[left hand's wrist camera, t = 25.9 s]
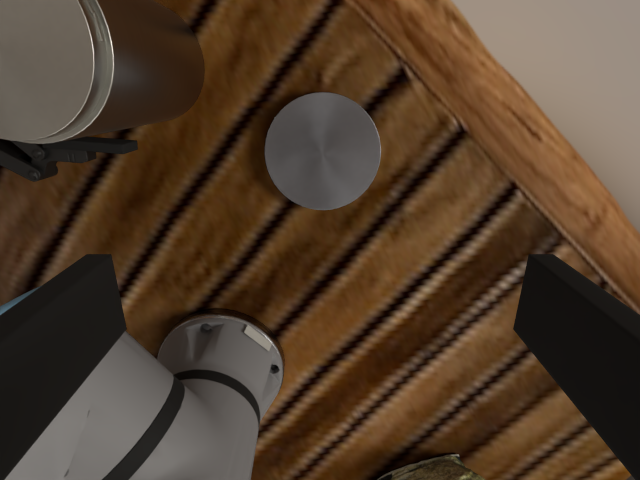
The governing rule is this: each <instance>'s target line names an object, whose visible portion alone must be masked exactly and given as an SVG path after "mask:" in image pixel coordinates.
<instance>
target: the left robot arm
mask: <svg viewBox="0 0 640 480" xmlns="http://www.w3.org/2000/svg"><path fill="white" fill-rule="evenodd" d="M126 329H127V328H126V323H125V319H124V314H123V309H122V304H121V299H120V295H119V290H118V285H117V280H116V275H115V271H114V266H113V261H112V256H111V254H87V255H85V256H84V257H82V258H81V259H79V260H78V261H77V262H75V263H74V264H72V265H71V266H69V267H68V268H67V269H65V270H64V271H62V272H61V273H60V274H58V275H57V276H55V277H54V278H52V279H51V280H50V281H48V282H47V283H45V284H44V285H42V286H40V287H38V288H35V289H33V290H31V291H29V292H27V293H25V294H23V295H21V296H19V297H17V298H15V299H13V300H11V301H10V302H8V303H6V304H4V305H2V306H0V480H250V479H251V473H252V466H253V460H254V454H255V448H256V442H257V436H258V429H259V424H260V421H261V419H262V418H263V416H264V414H265V413H266V411H267V410H268V408H269V407H270V405H271V403H272V402H273V400H274V399H275V397H276V395H277V394H278V392H279V390H280V388H281V385H282V381H283V375H284V366H285V361H284V354H283V351H282V348H281V345H280V343H279V342H278V340H277V338H276V337H275V335H274V334H273V333H272V332H271V331H270V330H269V329H268V328H267V327H266V326H265V325H264V324H262V323H261V322H259V321H258V320H256V319H254V318H253V317H251V316H248V315H246V314H243V313H240V312H237V311H232V310H225V309H211V310H204V311H200V312H197V313H194V314H191V315H189V316H187V317H185V318H184V319H182V320H181V321H180V322H178V323H177V324H176V325H175V326H174V327H173V328H172V329H171V331H170V332H169V334H168V335H167V337H166V339H165V340H164V342H163V343H162V345H161V347H160V350H159V353H158V358H157V359H156V358H155V357H154V356H152V355H151V354H150V353H149V352H148V351H147V350H146V349H145V348H144V347H143V346H142V345H141V344H139V343H138V342H137V341H136V340H135V339H134V338H133V337H132V336H131V335H130V334H129V333H127V332H126ZM513 329H514V331H515V332H516V333H517V334H518V336H519V337H520V338H521V339H522V340H523V342H524V343H525V344H526V345H527V347H528V348H529V349H530V350H531V352H532V353H533V354H534V355H535V357H536V358H537V359H538V360H539V361H540V363H541V364H542V365H543V366H544V368H545V369H546V370H547V371H548V373H549V374H550V375H551V376H552V377H553V379H554V380H555V381H556V382H557V384H558V385H559V386H560V387H561V389H562V390H563V391H564V392H565V394H566V395H567V396H568V397H569V398H570V400H571V401H572V402H573V403H574V405H575V406H576V407H577V408H578V410H579V411H580V412H581V413H582V414H583V416H584V417H585V418H586V419H587V421H588V422H589V423H590V424H591V426H592V427H593V428H594V429H595V431H596V432H597V433H598V434H599V435H600V437H601V438H602V439H603V440H604V442H605V443H606V444H607V445H608V447H609V448H610V449H611V450H612V451H613V453H614V454H615V455H616V456H617V458H618V459H619V460H620V461H621V463H622V464H623V465H624V466H625V467H626V469H627V470H628V471H629V472H630V474H631V475H632V476H633V477H634V479H635V480H640V315H639V314H638V313H636V312H635V311H633V310H632V309H630V308H629V307H628V306H626V305H625V304H623V303H622V302H620V301H619V300H618V299H616V298H615V297H613V296H612V295H610V294H609V293H608V292H606V291H605V290H603V289H602V288H600V287H599V286H598V285H596V284H595V283H593V282H592V281H590V280H589V279H588V278H586V277H585V276H583V275H582V274H580V273H579V272H578V271H576V270H575V269H573V268H572V267H571V266H569V265H568V264H566V263H565V262H563V261H562V260H561V259H559V258H558V257H556V256H555V255H553V254H529V256H528V261H527V266H526V271H525V275H524V280H523V285H522V290H521V295H520V299H519V304H518V309H517V314H516V319H515V323H514V328H513Z"/></svg>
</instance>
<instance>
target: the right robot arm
mask: <svg viewBox="0 0 640 480" xmlns="http://www.w3.org/2000/svg"><path fill="white" fill-rule="evenodd" d="M137 149H138V147H137V141H135V140H122V139H110V138H97V137H81V138H76V139H71V140H66V141H61V142H56V143H48V144H31V143H25V142H19V141H11V140H5V139H0V165H1V166H3V167H5V168H7V169H9V170H11V171H13V172H15V173H17V174H19V175H21V176H23V177H25V178H27V179H29V180H31V181H39V180H42V179H45V178H48V177H51V176H54V175H56V174H57V173H58V169H57V167H56V163H57V161H63V162H75V163H83V162H87V161H90V160H93V159H96V152H104V153H117V154H125V153H128V152H131V151H134V150H137Z"/></svg>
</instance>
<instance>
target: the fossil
mask: <svg viewBox="0 0 640 480" xmlns="http://www.w3.org/2000/svg"><path fill="white" fill-rule="evenodd" d="M377 480H485V479H484V478H483V477H481V476H479V475H478V474H476V473H474V472H473V471H472V470H470V469H468V468H465V466H464V464H463V463H462V462H461V460H460V457H459V454H455V455H445V456H443V457H437V458H433V459H429V460H424V461H421V462H419V463H416V464H410V465H407V466H404V467H402V468H399V469H396V470H394V471H391V472H389V473H387V474H385V475H383V476H381V477H380V478H379V479H377Z"/></svg>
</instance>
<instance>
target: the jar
mask: <svg viewBox="0 0 640 480" xmlns="http://www.w3.org/2000/svg"><path fill="white" fill-rule="evenodd" d="M203 81H204V60H203V55H202V51H201V48H200V45H199V43H198V41H197V39H196V37H195V35H194V33H193V32H192V30H191V29H190V28H189V26H188V25H187V24H186V23H185V22H184V21H183V19H181V18H180V17H179V16H178V15H177V14H176V13H174V12H173V11H171V10H170V9H168V8H166V7H164V6H162V5H160V4H159V3H157V2H155V1H153V0H0V139H5V140H11V141H19V142H25V143H31V144H48V143H56V142H61V141H66V140H71V139H76V138H81V137H86V136H91V135H96V134H102V133H107V132H112V131H117V130H122V129H127V128H132V127H137V126H142V125H147V124H152V123H157V122H162V121H167V120H171V119H174V118H177V117H179V116H180V115H182V114H184V113H185V112H186V111H187V110H189V109H190V108H191V107H192V105H193V104H194V103H195V101H196V100H197V98H198V96H199V94H200V92H201V89H202V86H203Z"/></svg>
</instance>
